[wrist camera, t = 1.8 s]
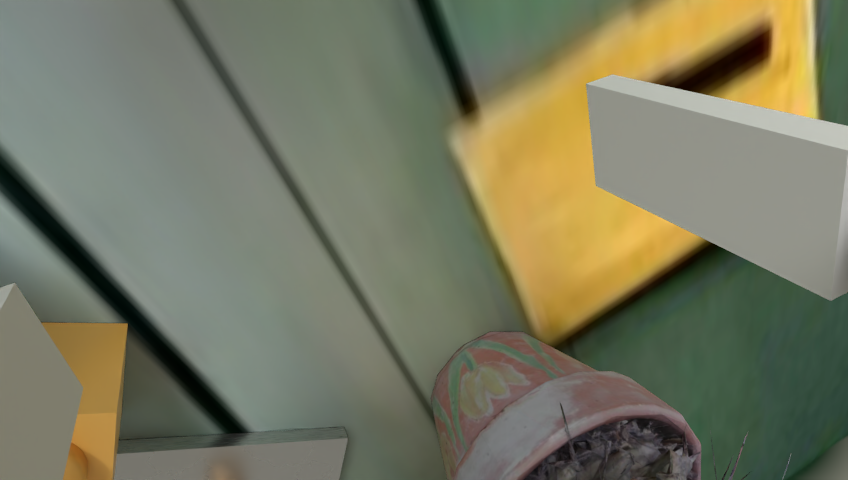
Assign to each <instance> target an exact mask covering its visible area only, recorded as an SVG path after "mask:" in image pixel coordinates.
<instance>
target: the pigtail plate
mask: <svg viewBox="0 0 848 480" xmlns="http://www.w3.org/2000/svg"><path fill="white" fill-rule="evenodd" d="M347 441H348V437H347V434H346V431H345V429H344V427H334V428H318V429H301V430H284V431H268V432H251V433H234V434H217V435H201V436H184V437H167V438H151V439H134V440H119V441H118V450H117V458H116V467H115V476H114V480H339V478H340V474H341V469H342V464H343V460H344V455H345V451H346V446H347Z"/></svg>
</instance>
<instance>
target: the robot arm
mask: <svg viewBox="0 0 848 480" xmlns="http://www.w3.org/2000/svg"><path fill="white" fill-rule="evenodd" d="M586 87H587V98H588V108H589V119H590V129H591V140H592V150H593V161H594V171H595V182H596V186H598V187H600V188H602V189H604V190H606V191H608V192H610V193H612V194H614V195H616V196H618V197H620V198H622V199H624V200H626V201H628V202H630V203H632V204H634V205H636V206H639V207H641V208H643V209H645V210H647V211H649V212H651V213H653V214H655V215H657V216H659V217H661V218H663V219H665V220H667V221H669V222H671V223H673V224H675V225H677V226H679V227H681V228H683V229H685V230H687V231H689V232H691V233H694V234H696V235H698V236H700V237H702V238H704V239H706V240H708V241H710V242H712V243H714V244H716V245H718V246H720V247H722V248H724V249H726V250H728V251H730V252H732V253H734V254H736V255H738V256H740V257H742V258H744V259H747V260H749V261H751V262H753V263H755V264H757V265H759V266H761V267H763V268H765V269H767V270H769V271H771V272H773V273H775V274H777V275H779V276H781V277H783V278H785V279H787V280H789V281H791V282H793V283H795V284H797V285H799V286H802V287H804V288H806V289H808V290H810V291H812V292H814V293H816V294H818V295H820V296H822V297H824V298H826V299H828V300H830V301H831V300H833V299H835V298H837V297H839V296H841V295H843V294H845V293H847V292H848V126H845V125H841V124H836V123H831V122H827V121H822V120H818V119H813V118H809V117H804V116H799V115H795V114H790V113H786V112H781V111H777V110H772V109H767V108H763V107H758V106H754V105H749V104H745V103H740V102H735V101H731V100H726V99H722V98H717V97H713V96H708V95H703V94H699V93H694V92H690V91H685V90H681V89H676V88H671V87H667V86H662V85H658V84H653V83H648V82H644V81H639V80H635V79H630V78H626V77H621V76H616V75H610V76H607V77H604V78H601V79H599V80H596V81H593V82H590V83H587V84H586ZM82 392H83V386H82V385H81V383H80V382H79V380H78V379H77V377H76V376H75V374H74V373H73V371H72V370H71V368H70V367H69V365H68V363H67V362H66V360H65V359H64V357H63V356H62V354H61V353H60V351H59V350H58V348H57V347H56V345H55V343H54V342H53V340H52V339H51V337H50V336H49V334H48V333H47V331H46V330H45V328H44V327H43V325H42V323H41V322H40V320H39V319H38V317H37V316H36V314H35V313H34V311H33V310H32V308H31V307H30V305H29V303H28V302H27V300H26V299H25V297H24V296H23V294H22V293H21V291H20V290H19V288H18V287H17V285H16V283H12V284H9V285H7V286H4V287H1V288H0V480H63V476H64V472H65V468H66V463H67V459H68V454H69V450H70V445H71V441H72V436H73V432H74V427H75V423H76V418H77V414H78V409H79V405H80V400H81V396H82Z"/></svg>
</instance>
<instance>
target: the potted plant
mask: <svg viewBox="0 0 848 480" xmlns="http://www.w3.org/2000/svg"><path fill="white" fill-rule="evenodd" d="M431 402H432V408H433V414H434V419H435V424H436V429H437V434H438V439H439V443H440V448H441V453H442V458H443V462H444V466H445V471H446V475H447V480H701V443H700V441H699V440H698V439H697V437H696V436H695V434H694V433H693V431H692V430H691V428H690V427H689V425H688V424H687V422H686V421H685V419H684V418H683V416H682V415H681V414H680V413H679V412H678V411H676V410H675V409H673V408H672V407H670V406H669V405H668V404H666V403H665V402H663V401H662V400H661V399H659V398H658V397H656V396H655V395H653V394H652V393H651V392H649V391H648V390H646V389H645V388H644V387H642V386H641V385H639V384H638V383H636V382H635V381H634V380H632V379H631V378H629V377H627V376H624V375H622V374H619V373H616V372H613V371H597V370H595V369H593V368H591V367H589V366H587V365H585V364H583V363H581V362H579V361H577V360H576V359H574V358H572V357H570V356H568V355H566V354H564V353H562V352H560V351H558V350H556V349H554V348H552V347H551V346H549V345H547V344H545V343H543V342H541V341H539V340H537V339H535V338H533V337H531V336H530V335H528V334H526V333H524V332H489V333H487V334H485V335H483V336H481V337H479V338H477V339H475V340H473V341H471V342H469V343H467V344H465V345H464V346H462V347H461V348H460V349H458V350H457V352H456V353H455V354H454V355H453V356H452V358H451V359H450V360H449V361H448V363H447V364H446V365H445V366H444V368H443V369H442V370H441V371H440V373H439V374H438V376H437V379H436V382H435V386H434V389H433V393H432V396H431ZM710 432H711V431H710ZM746 436H747V435H746ZM745 439H746V437H745ZM745 439H744V442H745ZM711 441H712V439H711ZM744 442H743V445H744ZM743 445H742V447H741V450H740V453H739V456H738V459H737V461H736V463H735V466H734V468H733V470H732V473H731V475H730V477H729V480H732V477H733V474H734V471H735V468H736V465H737V463H738V460H739V457H740V454H741V451H742V448H743ZM712 449H713V446H712ZM733 455H734V454H733ZM790 456H791V455H790ZM713 458H714V454H713ZM732 458H733V457H732ZM731 460H732V459H731ZM789 460H790V458H789ZM730 463H731V461H730ZM730 463H729V465H730ZM788 463H789V462H788ZM714 466H715V462H714ZM787 467H788V465H787ZM728 468H729V466H728ZM728 468H727V470H728ZM786 469H787V468H786ZM727 470H726V472H727ZM726 472H725V474H724V476H723V478H722V480H724V477H725V475H726ZM785 472H786V471H785ZM715 474H716V469H715ZM747 475H748V474H747ZM747 475H746V476H747ZM784 475H785V473H784ZM746 476H745V477H746ZM745 477H744V478H745ZM744 478H743V479H744ZM783 478H784V476H783ZM743 479H741V480H743ZM716 480H717V477H716ZM782 480H783V479H782Z"/></svg>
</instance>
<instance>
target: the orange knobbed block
mask: <svg viewBox="0 0 848 480" xmlns="http://www.w3.org/2000/svg"><path fill="white" fill-rule="evenodd" d="M41 323H42V325H43V327H44V328H45V330H46V331H47V333H48V334H49V336H50V337H51V339H52V340H53V342H54V343H55V345H56V347H57V348H58V350H59V351H60V353H61V354H62V356H63V357H64V359H65V360H66V362H67V363H68V365H69V367H70V368H71V370H72V371H73V373H74V374H75V376H76V377H77V379H78V380H79V382H80V383H81V385H82V386H83V392H82V396H81V400H80V405H79V409H78V414H77V418H76V423H75V427H74V432H73V436H72V441H71V445H70V450H69V454H68V459H67V463H66V468H65V472H64V476H63V480H114V476H115V467H116V458H117V450H118V441H119V432H120V423H121V415H122V401H123V387H124V372H125V358H126V343H127V329H128V323H48V322H41Z"/></svg>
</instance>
